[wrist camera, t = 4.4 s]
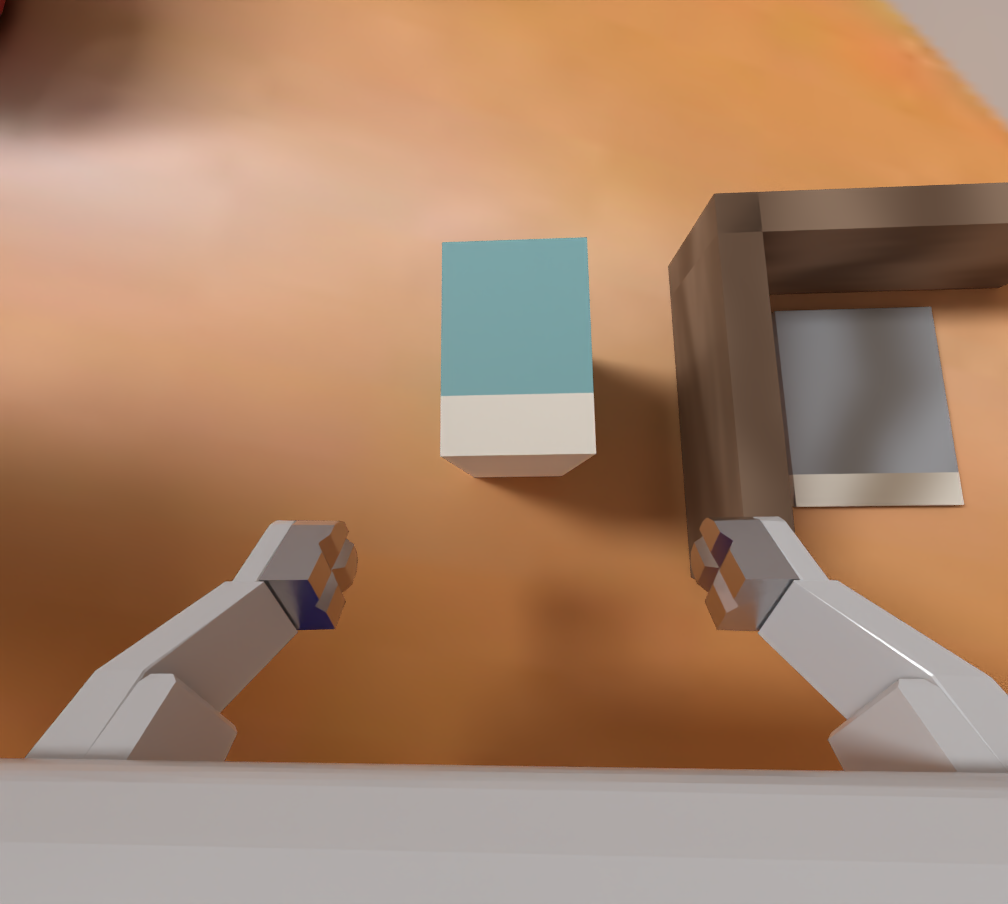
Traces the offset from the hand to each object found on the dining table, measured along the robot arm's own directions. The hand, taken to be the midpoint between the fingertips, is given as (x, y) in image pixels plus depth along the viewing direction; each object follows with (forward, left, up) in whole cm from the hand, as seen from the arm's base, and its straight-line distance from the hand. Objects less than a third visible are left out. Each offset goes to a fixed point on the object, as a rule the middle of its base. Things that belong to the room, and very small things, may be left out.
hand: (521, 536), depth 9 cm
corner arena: (+7, +14, -9) cm, 18 cm away
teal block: (-4, +4, -9) cm, 10 cm away
